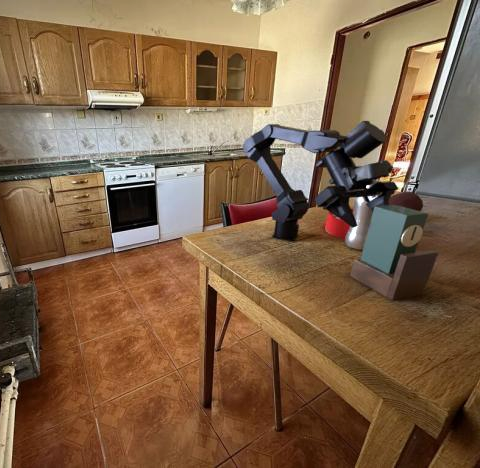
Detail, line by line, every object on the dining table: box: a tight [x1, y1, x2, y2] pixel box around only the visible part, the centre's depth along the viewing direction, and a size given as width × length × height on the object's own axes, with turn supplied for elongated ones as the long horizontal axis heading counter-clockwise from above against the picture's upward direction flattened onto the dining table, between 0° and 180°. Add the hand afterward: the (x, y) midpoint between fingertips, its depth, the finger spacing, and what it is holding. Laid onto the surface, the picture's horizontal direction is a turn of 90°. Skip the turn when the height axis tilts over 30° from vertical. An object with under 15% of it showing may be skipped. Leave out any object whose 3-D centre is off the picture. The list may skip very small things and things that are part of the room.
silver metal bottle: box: [344, 179, 383, 251], centre depth 73 cm, size 6×7×20 cm
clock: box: [360, 205, 429, 274], centre depth 55 cm, size 8×5×13 cm, turn 10°
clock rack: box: [349, 249, 439, 301], centre depth 57 cm, size 10×8×10 cm
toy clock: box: [324, 207, 354, 240], centre depth 87 cm, size 20×6×20 cm
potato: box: [389, 191, 424, 212], centre depth 98 cm, size 11×13×10 cm
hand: (371, 224), depth 60 cm, fingers open, 9 cm apart
